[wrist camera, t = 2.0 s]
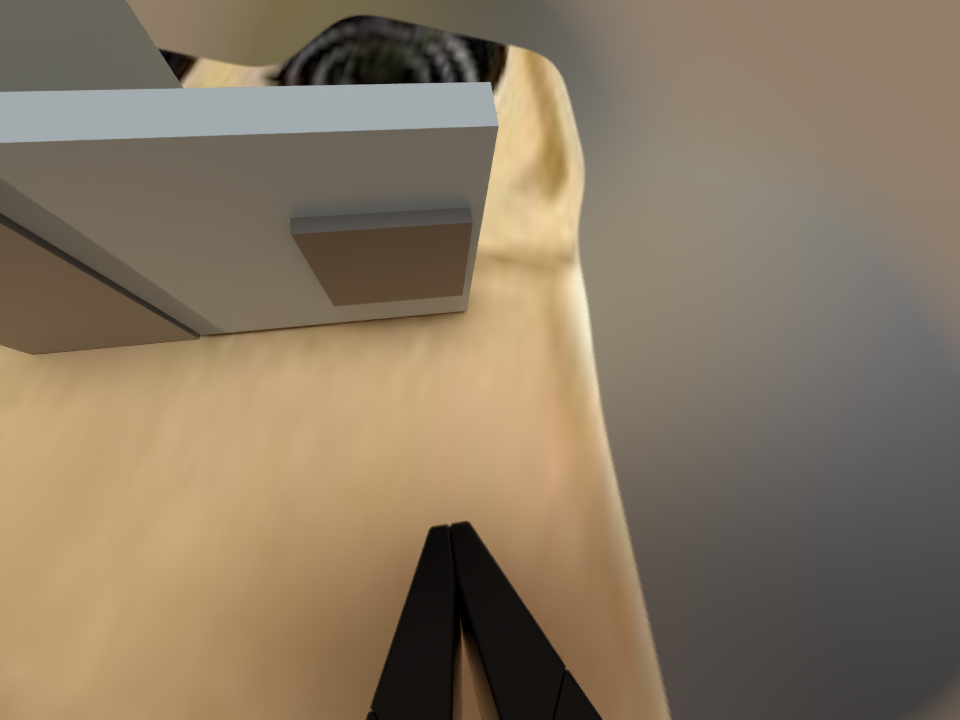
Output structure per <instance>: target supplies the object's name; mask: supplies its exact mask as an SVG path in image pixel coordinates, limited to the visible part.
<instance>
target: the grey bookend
mask: <svg viewBox="0 0 960 720" xmlns="http://www.w3.org/2000/svg"><path fill="white" fill-rule="evenodd" d="M497 132H498V121H497V115H496V110H495V104H494V99H493V93H492V88H491V82H475V83H425V84H375V85H325V86H275V87H225V88H183V87H182V86H181V84H180V83H179V81H178V79H177V78H176V76H175V75H174V73H173V72H172V70H171V69H170V67H169V66H168V64H167V63H166V61H165V59H164V58H163V56H162V55H161V53H160V52H159V50H158V49H157V47H156V46H155V44H154V43H153V41H152V40H151V38H150V36H149V35H148V33H147V32H146V31H145V29H144V27H143V26H142V24H141V23H140V21H139V20H138V18H137V17H136V15H135V13H134V12H133V10H132V9H131V7H130V6H129V4H128V3H127V1H126V0H0V213H1V214H3V215H5V216H6V217H8V218H9V219H11V220H13V221H14V222H16V223H18V224H19V225H21V226H23V227H24V228H26V229H28V230H29V231H31V232H33V233H34V234H36V235H37V236H39V237H41V238H42V239H44V240H46V241H47V242H49V243H51V244H52V245H54V246H56V247H57V248H59V249H61V250H62V251H64V252H65V253H67V254H69V255H70V256H72V257H74V258H75V259H77V260H79V261H80V262H82V263H84V264H85V265H87V266H89V267H90V268H92V269H94V270H95V271H97V272H98V273H100V274H102V275H103V276H105V277H107V278H108V279H110V280H112V281H113V282H115V283H117V284H118V285H120V286H122V287H123V288H125V289H126V290H128V291H130V292H131V293H133V294H135V295H136V296H138V297H140V298H141V299H143V300H145V301H146V302H148V303H150V304H151V305H153V306H154V307H156V308H158V309H159V310H161V311H163V312H164V313H166V314H168V315H169V316H171V317H173V318H174V319H176V320H178V321H179V322H181V323H182V324H184V325H186V326H187V327H189V328H191V329H192V330H194V331H196V332H197V333H199V334H201V335H209V334H220V333H231V332H241V331H252V330H263V329H274V328H285V327H296V326H306V325H317V324H328V323H339V322H350V321H361V320H371V319H382V318H393V317H404V316H415V315H425V314H436V313H447V312H458V311H466V310H467V304H468V298H469V292H470V287H471V281H472V275H473V269H474V264H475V258H476V252H477V246H478V241H479V235H480V229H481V223H482V218H483V212H484V206H485V200H486V195H487V189H488V183H489V178H490V172H491V166H492V160H493V155H494V149H495V143H496V137H497Z"/></svg>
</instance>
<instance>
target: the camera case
mask: <svg viewBox="0 0 960 720" xmlns="http://www.w3.org/2000/svg"><path fill="white" fill-rule="evenodd" d="M193 339H199V333H197V332H196V331H194V330H192V329H191V328H189V327H187V326H186V325H184V324H182V323H181V322H179V321H178V320H176V319H174V318H173V317H171V316H169V315H168V314H166V313H164V312H163V311H161V310H159V309H158V308H156V307H154V306H153V305H151V304H150V303H148V302H146V301H145V300H143V299H141V298H140V297H138V296H136V295H135V294H133V293H131V292H130V291H128V290H126V289H125V288H123V287H122V286H120V285H118V284H117V283H115V282H113V281H112V280H110V279H108V278H107V277H105V276H103V275H102V274H100V273H98V272H97V271H95V270H94V269H92V268H90V267H89V266H87V265H85V264H84V263H82V262H80V261H79V260H77V259H75V258H74V257H72V256H70V255H69V254H67V253H65V252H64V251H62V250H61V249H59V248H57V247H56V246H54V245H52V244H51V243H49V242H47V241H46V240H44V239H42V238H41V237H39V236H37V235H36V234H34V233H33V232H31V231H29V230H28V229H26V228H24V227H23V226H21V225H19V224H18V223H16V222H14V221H13V220H11V219H9V218H8V217H6V216H5V215H3V214H1V213H0V345H2V346H6V347H9V348H12V349H16V350H19V351H22V352H25V353H29V354H32V355H33V354H43V353H54V352H65V351H76V350H86V349H97V348H108V347H118V346H129V345H140V344H150V343H161V342H172V341H183V340H193Z"/></svg>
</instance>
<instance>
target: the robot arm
mask: <svg viewBox="0 0 960 720" xmlns="http://www.w3.org/2000/svg"><path fill="white" fill-rule="evenodd" d="M460 621H461V624H460ZM461 628H462V635H463V640H464V645H465V649H466V654H467V658H468V662H469V666H470V671H471V675H472V679H473V684H474V688H475V692H476V697H477V701H478V705H479V709H480V714H481V718H482V720H603V719H602V717H601V716H600V714H599V713H598V712H597V710H596V709H595V707H594V706H593V705H592V703H591V702H590V700H589V699H588V697H587V696H586V695H585V693H584V692H583V690H582V689H581V687H580V686H579V684H578V683H577V681H576V680H575V678H574V677H573V675H572V674H571V672H570V671H569V670H568V669H566V670H565V668H566V666H565V664H564V662H563V661H562V659H561V658H560V656H559V655H558V653H557V652H556V650H555V649H554V647H553V646H552V644H551V643H550V641H549V640H548V638H547V637H546V635H545V634H544V632H543V631H542V629H541V628H540V626H539V625H538V623H537V622H536V620H535V619H534V617H533V616H532V614H531V613H530V611H529V610H528V608H527V607H526V605H525V604H524V602H523V601H522V599H521V598H520V596H519V595H518V594H517V592H516V591H515V589H514V588H513V586H512V585H511V583H510V582H509V580H508V579H507V577H506V576H505V574H504V573H503V571H502V570H501V568H500V567H499V565H498V564H497V562H496V561H495V559H494V558H493V556H492V555H491V553H490V552H489V550H488V549H487V547H486V546H485V544H484V543H483V541H482V540H481V538H480V537H479V535H478V534H477V532H476V531H475V529H474V528H473V526H472V525H471V523H470V522H468V521H462V522H456V523H452V524H451V525H450V527H449V525H447V524H443V525H437V526H432V527H431V528H430V529H429V531H428V534H427V537H426V540H425V543H424V546H423V549H422V552H421V555H420V558H419V561H418V564H417V567H416V570H415V573H414V576H413V579H412V582H411V585H410V588H409V591H408V594H407V597H406V600H405V603H404V606H403V609H402V612H401V615H400V618H399V621H398V625H397V628H396V631H395V634H394V637H393V640H392V643H391V646H390V649H389V652H388V655H387V658H386V661H385V664H384V667H383V670H382V673H381V676H380V679H379V682H378V685H377V688H376V691H375V694H374V697H373V700H372V703H371V706H370V708H371V711H369V712H368V714H367V717H366V720H463V718H462V637H461Z"/></svg>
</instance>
